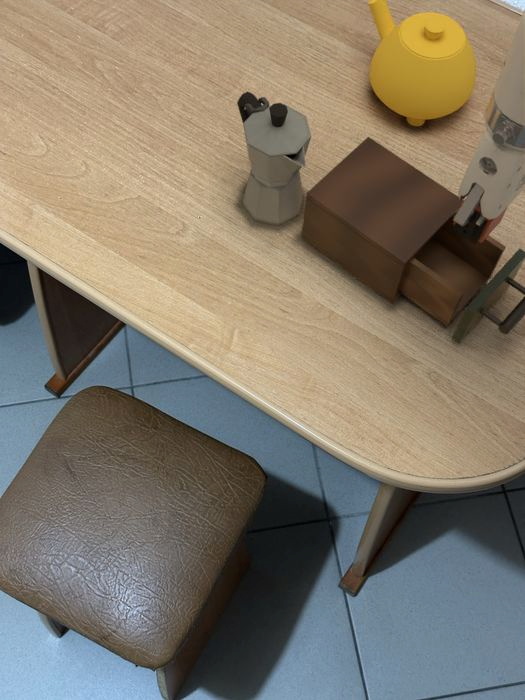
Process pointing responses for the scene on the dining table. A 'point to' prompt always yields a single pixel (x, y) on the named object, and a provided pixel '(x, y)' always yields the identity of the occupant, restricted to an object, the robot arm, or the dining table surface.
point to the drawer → (462, 280)
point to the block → (488, 223)
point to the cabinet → (376, 215)
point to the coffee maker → (273, 158)
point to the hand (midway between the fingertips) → (477, 221)
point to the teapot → (421, 64)
